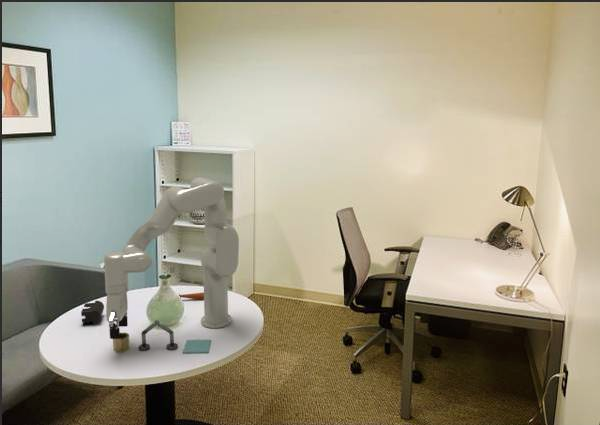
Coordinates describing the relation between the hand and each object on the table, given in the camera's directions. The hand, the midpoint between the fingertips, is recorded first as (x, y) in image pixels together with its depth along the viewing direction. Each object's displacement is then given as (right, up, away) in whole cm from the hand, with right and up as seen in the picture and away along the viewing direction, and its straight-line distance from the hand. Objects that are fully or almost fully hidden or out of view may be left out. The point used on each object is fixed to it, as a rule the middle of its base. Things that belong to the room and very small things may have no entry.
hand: (119, 332), depth 171 cm
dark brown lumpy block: (-19, -1, +24) cm, 31 cm away
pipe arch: (+13, -6, +3) cm, 15 cm away
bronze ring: (0, -6, +2) cm, 7 cm away
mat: (+27, -6, +4) cm, 28 cm away
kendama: (+11, +3, +45) cm, 47 cm away
